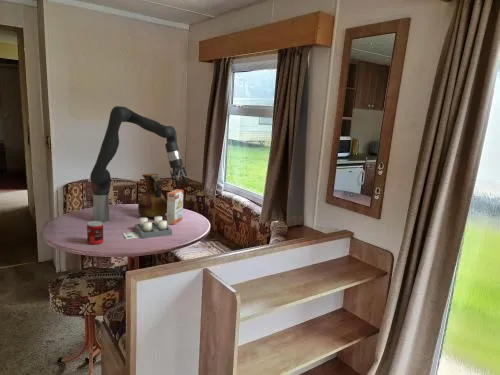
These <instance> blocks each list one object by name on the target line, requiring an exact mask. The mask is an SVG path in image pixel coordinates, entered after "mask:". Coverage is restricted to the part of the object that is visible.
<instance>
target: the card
mask: <svg viewBox="0 0 500 375" xmlns="http://www.w3.org/2000/svg"><path fill="white" fill-rule="evenodd" d="M122 235H123V236H124V238H125V239H126V240H131V239H138V238H139V239H142V238H141V236H140V235H139V234H138V233H137V232H136V231H134V232H132V231H131V232H124V233H122Z"/></svg>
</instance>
